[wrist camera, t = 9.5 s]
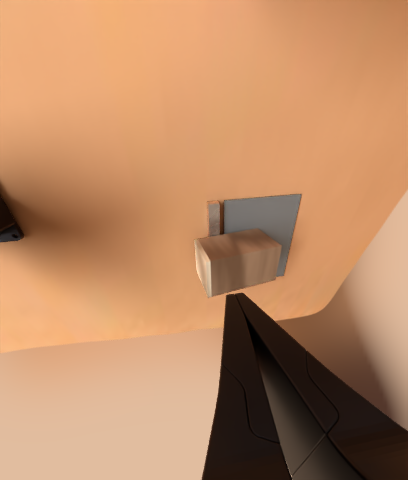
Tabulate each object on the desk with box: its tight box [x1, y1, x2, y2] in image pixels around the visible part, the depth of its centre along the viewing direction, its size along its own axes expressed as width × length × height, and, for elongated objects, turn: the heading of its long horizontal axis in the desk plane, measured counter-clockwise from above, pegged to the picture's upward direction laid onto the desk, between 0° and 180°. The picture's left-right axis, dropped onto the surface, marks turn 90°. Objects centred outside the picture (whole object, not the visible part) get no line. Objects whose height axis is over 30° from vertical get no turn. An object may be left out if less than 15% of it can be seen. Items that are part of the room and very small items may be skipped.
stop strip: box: [207, 201, 220, 237], centre depth 22 cm, size 1×12×1 cm, turn 3°
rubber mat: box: [224, 194, 301, 277], centre depth 23 cm, size 9×12×1 cm
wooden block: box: [194, 228, 282, 298], centre depth 20 cm, size 4×4×8 cm
